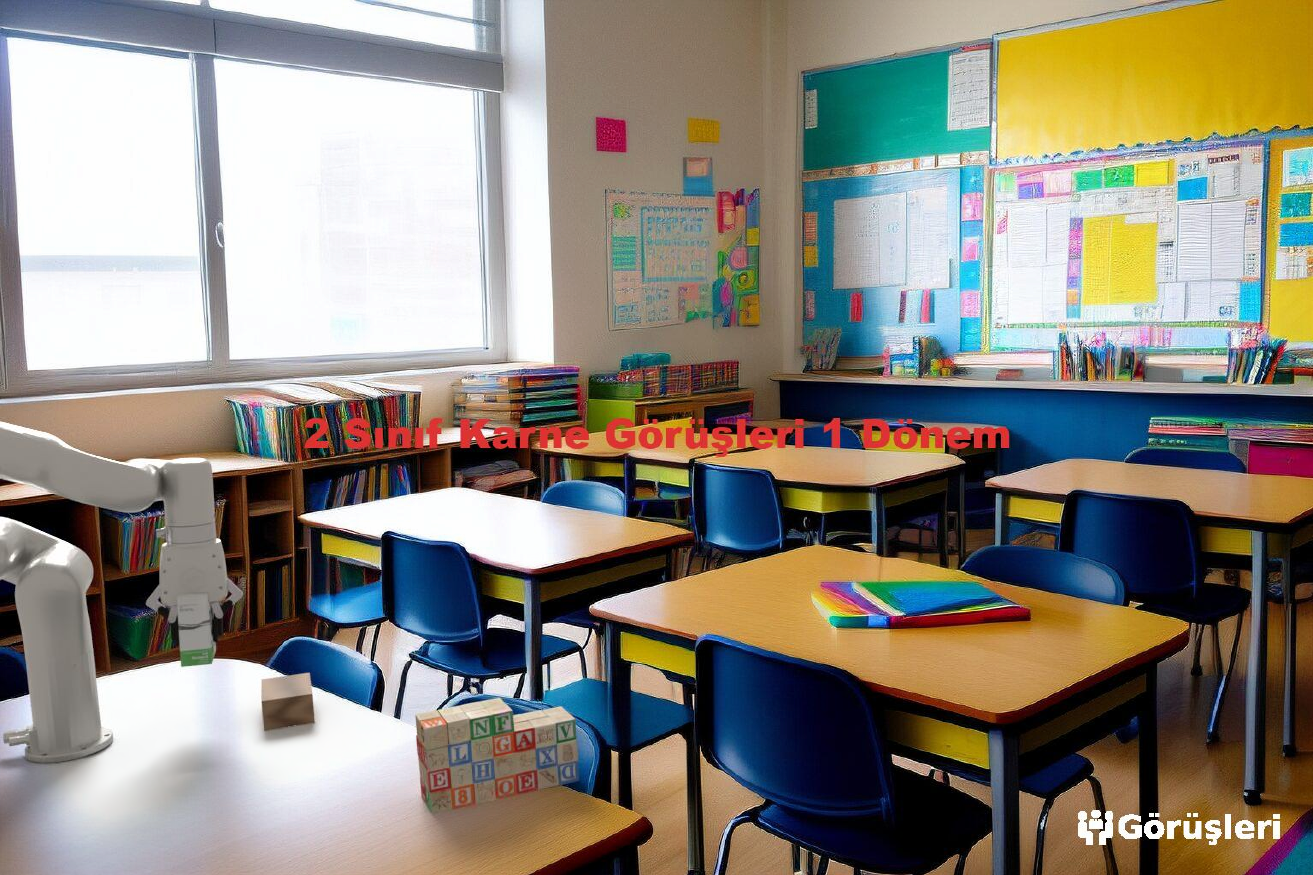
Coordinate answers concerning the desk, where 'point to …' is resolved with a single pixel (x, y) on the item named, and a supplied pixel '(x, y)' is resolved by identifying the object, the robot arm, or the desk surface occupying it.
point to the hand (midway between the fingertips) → (197, 641)
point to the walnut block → (287, 701)
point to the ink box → (195, 629)
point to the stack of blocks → (492, 753)
